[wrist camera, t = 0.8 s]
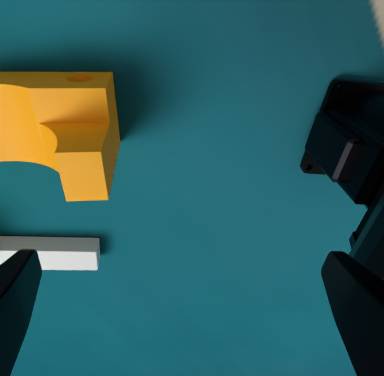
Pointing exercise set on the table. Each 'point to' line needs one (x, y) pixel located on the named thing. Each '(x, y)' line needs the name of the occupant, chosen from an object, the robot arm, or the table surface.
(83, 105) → the pipe clamp
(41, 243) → the collar track
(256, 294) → the table surface
